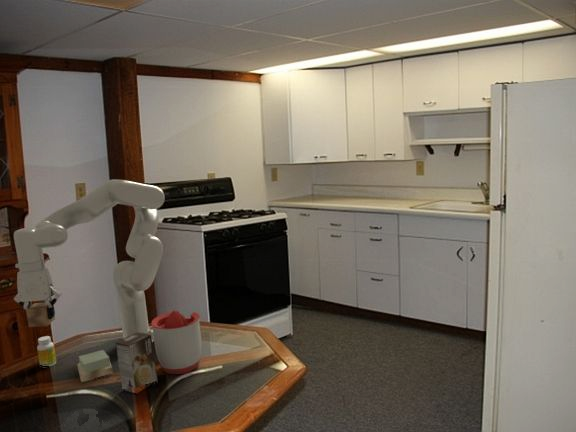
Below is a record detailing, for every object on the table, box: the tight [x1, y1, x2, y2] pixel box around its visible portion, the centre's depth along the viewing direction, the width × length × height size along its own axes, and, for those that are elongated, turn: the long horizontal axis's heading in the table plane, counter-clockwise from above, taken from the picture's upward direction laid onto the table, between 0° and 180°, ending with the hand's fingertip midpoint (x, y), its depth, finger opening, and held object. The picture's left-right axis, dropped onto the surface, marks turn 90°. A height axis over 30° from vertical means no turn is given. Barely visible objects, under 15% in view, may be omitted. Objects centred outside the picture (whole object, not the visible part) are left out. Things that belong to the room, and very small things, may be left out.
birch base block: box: [77, 362, 114, 383], centre depth 182 cm, size 10×10×3 cm
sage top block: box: [78, 349, 111, 373], centre depth 182 cm, size 8×8×3 cm
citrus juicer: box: [150, 309, 202, 375], centre depth 181 cm, size 16×17×20 cm
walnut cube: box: [25, 302, 56, 328], centre depth 179 cm, size 6×6×6 cm
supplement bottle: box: [36, 335, 57, 367], centre depth 191 cm, size 5×5×10 cm
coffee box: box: [115, 332, 158, 390], centre depth 169 cm, size 9×6×16 cm
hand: (41, 318), depth 179 cm, fingers closed on walnut cube, 6 cm apart
